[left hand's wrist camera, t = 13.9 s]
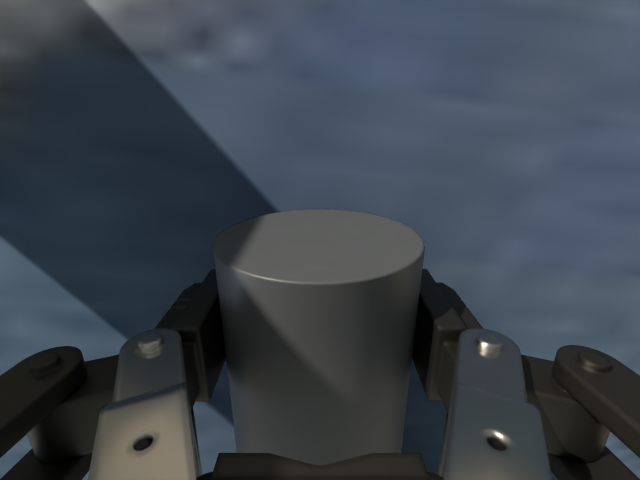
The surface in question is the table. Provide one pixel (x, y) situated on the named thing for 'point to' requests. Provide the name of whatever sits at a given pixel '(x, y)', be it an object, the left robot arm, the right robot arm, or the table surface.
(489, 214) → the table surface
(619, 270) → the table surface
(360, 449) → the cylinder
